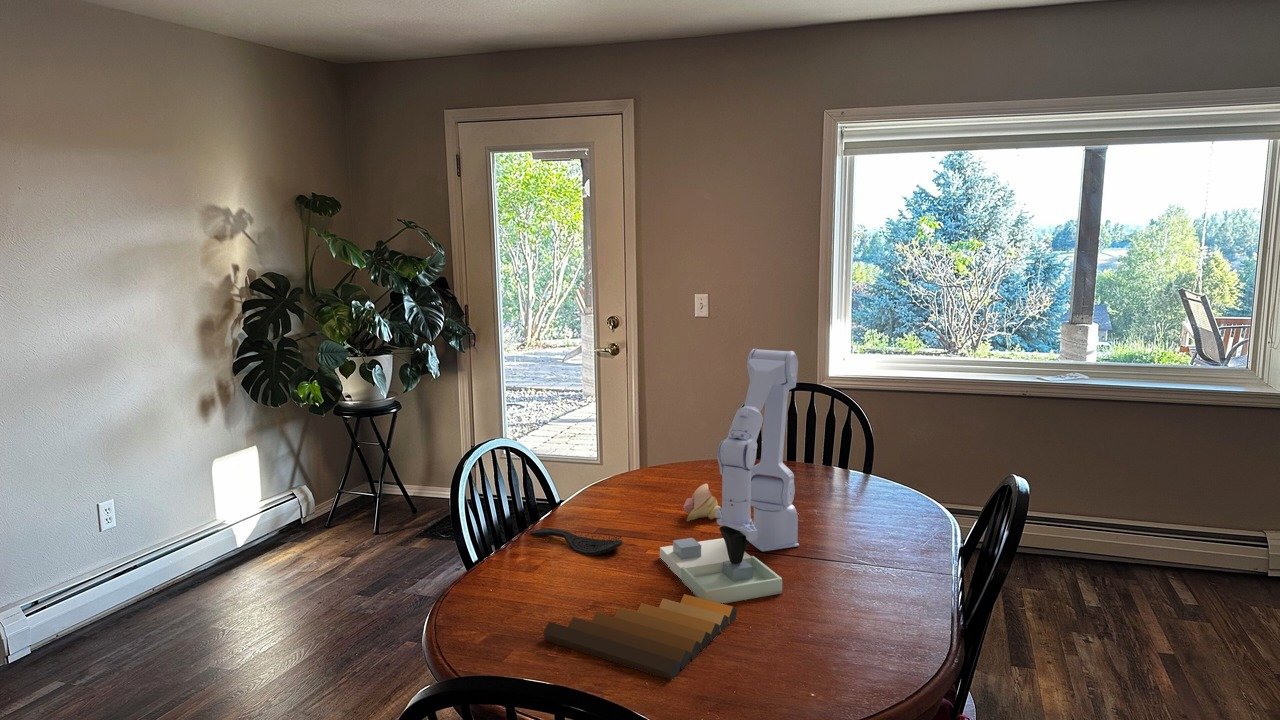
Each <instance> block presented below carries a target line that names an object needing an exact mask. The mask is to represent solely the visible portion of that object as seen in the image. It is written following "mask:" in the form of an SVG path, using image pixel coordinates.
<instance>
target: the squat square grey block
mask: <svg viewBox="0 0 1280 720" xmlns="http://www.w3.org/2000/svg"><path fill="white" fill-rule="evenodd" d="M723 574H724V575H726V576H727V577H728V578H729V579H730V580H731V581H733V582H735V581H740V580H746V579H752V578H753V566H752V565H751V564H749V563H748V562H747V561H745V560H744V559H742V562H741V563H736V564H732V563H731V562H730V560H729V561H723Z"/></svg>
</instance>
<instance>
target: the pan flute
mask: <svg viewBox="0 0 1280 720" xmlns="http://www.w3.org/2000/svg"><path fill="white" fill-rule="evenodd" d="M737 613H738V609H737V608H735V606H732V605H728V604H726V603H724V604H721V603H717V602H713V601H709V600H705V599H701V598H697V597H696V596H695V595H694V596H693V595H689V594H685V593H684V594H683V596H682V598H681V600H680V602H677V601H675V600H670V599H666V598H662V600H661V602H660V604H659V606H654V605H650V604H647V603H642V602H640V604H639V607H638V609H637V611H633V610H630V609H626V608H624V607H623V608H622V607H618V609H617V611H616V612H615V615H614V616H612V615H608V614H604V613H602V612H597V611H596V612H595V614H594V616H593V618H592V620H591V621H589V620H586V619H582V618H579V617H576V616H572V618H571V620H570V621H569V624H568V626H566V625H562V624H558V623H555V622H553V621H552V622H551V621H549V622H548V623H547V625H546V626H545V629H544V630H543V632H542V634H543V639H544V640H545V641H547V642H550V643H553V644H556V645H559V646H563V647H564V648H565V647H566V648H569V649H571V650H575V651H577V650H578V651H577V652H580V651H581V653H584V652H585V653H584V654H587V653H588V654H587V655H590V654H591V655H590V656H593V655H595V656H594V657H596V656H597V657H596V658H599V657H600V659H602V658H603V660H605V659H607V660H606V661H608V660H611V661H613V662H612V663H615V662H616V663H615V664H618V663H620V664H619V665H621V664H623V665H622V666H624V665H626V666H625V667H627V666H629V667H628V668H630V667H632V668H631V669H633V668H636V669H639V670H642V671H641V672H643V671H645V672H644V673H646V672H648V673H647V674H649V673H651V674H650V675H652V674H654V675H653V676H655V675H657V676H656V677H658V676H660V677H659V678H661V677H663V678H662V679H664V678H666V679H665V680H667V679H669V680H668V681H671V680H672V679H673V678H674V677H675V676H676V675H677V674H678V673H679V674H680V671H681V670H680V669H683V668H684V667H685V666H686V665H687V664H688V663H689V662H690V663H691V661H694V659H696V655H697V654H699V653H701V651H702V650H703V649H704V648H705V647H706V646H707V645H708V644H709V643H711V642H713V641H714V640H715V639H716V638H717V637H718V636H719V635H720V632H722V631H723V630H724V629H725V628H726V629H727V628H728V627H729V626H728V625H731V624H732V623H733V622H734V621H735V620H736V619H737V615H738V614H737ZM727 626H728V627H727ZM726 629H725V630H726ZM725 630H724V631H725ZM724 631H723V632H724ZM723 632H722V633H723ZM716 636H717V637H716ZM715 637H716V638H715ZM714 638H715V639H714ZM713 639H714V640H713ZM712 640H713V641H712ZM709 645H710V644H709ZM709 645H708V646H709ZM708 646H707V647H708ZM707 647H706V648H707ZM706 648H705V649H706ZM700 649H701V650H700ZM705 649H704V650H705ZM704 650H703V651H704ZM699 655H700V654H699ZM693 658H694V659H693ZM690 659H692V660H690ZM611 661H610V662H611ZM690 663H689V664H690ZM689 664H688V665H689ZM688 665H687V666H688ZM687 666H686V667H687ZM686 667H685V668H686ZM685 668H684V669H685ZM636 669H635V670H636ZM684 669H683V670H684ZM639 670H638V671H639ZM679 674H678V675H679ZM678 675H677V676H678ZM677 676H676V677H677ZM676 677H675V678H676ZM675 678H674V679H675ZM674 679H673V680H674ZM673 680H672V681H673Z"/></svg>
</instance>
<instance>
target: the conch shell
mask: <svg viewBox="0 0 1280 720" xmlns="http://www.w3.org/2000/svg"><path fill="white" fill-rule="evenodd" d="M717 508H721V506H720V505H719V504H718V500H717V498H716V496H713V495H712V492H711V491H710V489H709V484H708V483H704V484H701V485H700V486H698V487H697V488H696V490H695V491H694V492H693V494H692V495H691V497H687V498H686V500H685V502H684V505H683V509H684V512H685V513H686V514H688V515H687V518H686V521H687V522H690V520H691V521H693V520H696V519H699V518H700V519H701V518H708V519H710V520H714V519H719V518H718V517H717Z"/></svg>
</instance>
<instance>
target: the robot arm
mask: <svg viewBox="0 0 1280 720" xmlns="http://www.w3.org/2000/svg"><path fill="white" fill-rule="evenodd" d="M746 368H747V373H748V377H749V384H748V388H747V391H746V392H747V393H746V395H745V396H746V397H745V401H744V404H743V407H740V408H738V409H737V410H736V412H735V414H734V418H733V420H732V424H731V426H730V428H729V432H728V435H727V437H726V438H725V439H722V440H721V441H720V443H719V445H718V449H717V455H716V456H717V457H716V459H717V463H718V465H719V475H721V476H722V478H721V479H722V481H721V483H722V484H721V487H722V488H721V506H720V508H717V517H718V518H716V524H717V525H718V526H720V527H719V532H720V534H721V535H722V538H724V540H725V543H726V547H727V551H728V556H729V560H730V562H731V563H732V564H736V563H741V562H742V559H743V556H744V552H746V548H747V545H748V543H750V544H751V545H753V546H754V547H755V548H756V549H758V550H759V551H761V552H771V551H777V550H783V549H788V548H789V549H790V548H795V547H799V546H800V543H798V538H799V537H798V534H799V533H798V530H799V526H798V525H799V523H798V522H799V516H798V512H797V508H796V507H795V505H793V502H794V500H795V499H794V498H795V495H796V494H795V491H796V490H795V489H796V487H795V474H794V472H793V471H792V470H791V469H790V468H789V467H788V466H787V465H786V464H785V463H784V462H783V460H784V449H785V436H786V435H785V434H786V423H787V413H788V412H787V409H788V407H787V406H788V398H789V391H790V390H792V389H795V388H797V382H798V372H799V360H798V356H797V354H796V352H795V351H793V350H789V351H787V350H772V349H758V348H753V349H751V351H750V352H749V353H748V356H747V362H746ZM763 407H764V412H763V413H764V416H763V415H762V410H763ZM762 425H763V428H762ZM761 429H762V438H761V442H762V443H761V450H760V451H761V452H760V453H761V455H760V462H758V463H756V464H755V462H756V459H757V449H758V443H757V442H758V441H757V440H758V438H759V434H760V432H761ZM751 507H753V519H752V517H751V515H752V513H751V511H752V510H751V509H752V508H751Z"/></svg>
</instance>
